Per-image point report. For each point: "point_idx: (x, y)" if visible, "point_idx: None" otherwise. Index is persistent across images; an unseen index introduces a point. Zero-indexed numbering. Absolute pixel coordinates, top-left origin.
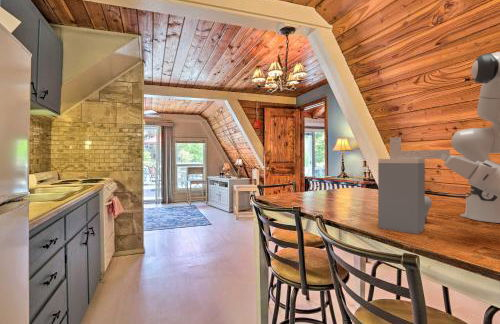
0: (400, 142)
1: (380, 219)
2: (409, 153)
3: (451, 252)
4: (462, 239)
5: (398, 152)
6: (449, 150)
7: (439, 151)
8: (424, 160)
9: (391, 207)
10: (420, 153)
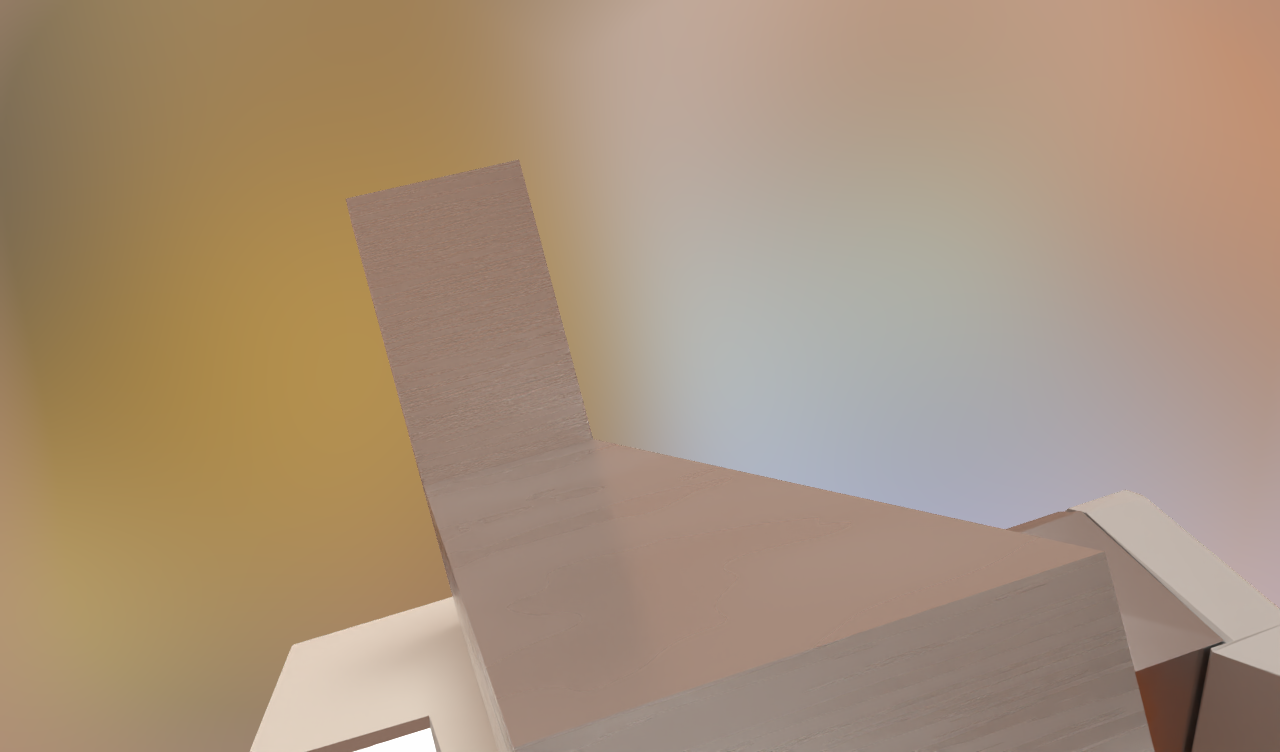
0: (507, 273)
1: None
2: (450, 579)
3: None
4: None
5: (433, 522)
6: (1016, 629)
7: (420, 749)
8: None
9: None
10: (466, 632)
